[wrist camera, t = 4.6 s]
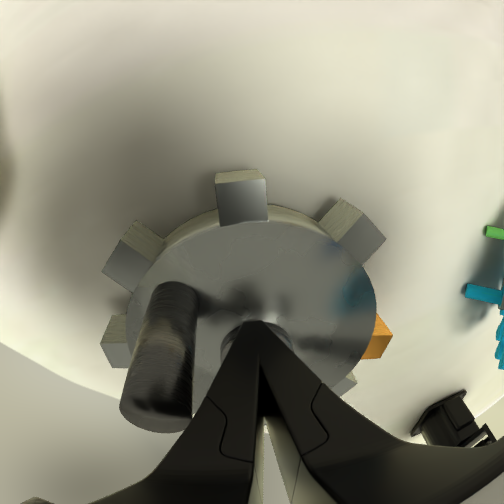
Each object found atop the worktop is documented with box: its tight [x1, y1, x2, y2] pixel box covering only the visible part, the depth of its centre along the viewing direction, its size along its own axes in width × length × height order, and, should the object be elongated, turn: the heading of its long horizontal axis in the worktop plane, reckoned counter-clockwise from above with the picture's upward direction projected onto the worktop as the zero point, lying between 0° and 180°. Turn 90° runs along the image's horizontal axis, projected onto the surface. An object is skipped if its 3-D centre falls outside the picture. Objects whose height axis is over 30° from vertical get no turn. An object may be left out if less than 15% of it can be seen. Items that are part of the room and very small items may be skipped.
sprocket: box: [100, 169, 393, 433], centre depth 11 cm, size 14×14×8 cm
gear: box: [465, 226, 504, 370], centre depth 14 cm, size 11×6×10 cm
